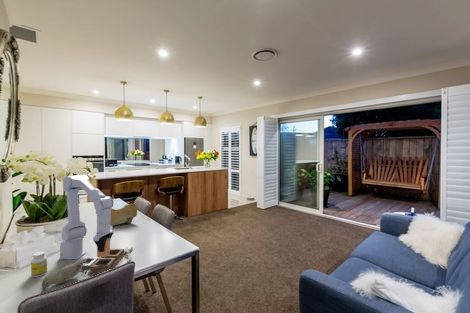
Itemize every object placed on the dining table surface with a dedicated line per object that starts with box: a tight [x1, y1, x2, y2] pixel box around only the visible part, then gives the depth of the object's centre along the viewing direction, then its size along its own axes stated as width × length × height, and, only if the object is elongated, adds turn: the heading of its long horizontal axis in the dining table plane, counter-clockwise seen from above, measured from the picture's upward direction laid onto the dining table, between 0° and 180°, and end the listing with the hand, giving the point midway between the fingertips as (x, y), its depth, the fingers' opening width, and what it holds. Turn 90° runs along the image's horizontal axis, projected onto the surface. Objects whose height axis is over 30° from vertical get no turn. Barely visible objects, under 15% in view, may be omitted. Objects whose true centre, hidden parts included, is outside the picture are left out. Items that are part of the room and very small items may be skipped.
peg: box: [96, 238, 111, 258], centre depth 107 cm, size 4×4×8 cm
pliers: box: [124, 246, 133, 263], centre depth 120 cm, size 10×2×15 cm
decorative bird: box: [41, 258, 88, 291], centre depth 97 cm, size 5×16×8 cm, turn 144°
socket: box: [76, 256, 99, 270], centre depth 111 cm, size 8×8×2 cm
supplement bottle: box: [30, 250, 48, 278], centre depth 101 cm, size 5×5×10 cm
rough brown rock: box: [111, 203, 138, 227], centre depth 172 cm, size 23×17×15 cm
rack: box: [87, 248, 126, 275], centre depth 112 cm, size 9×20×3 cm, turn 5°
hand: (103, 249), depth 107 cm, fingers closed on peg, 4 cm apart
